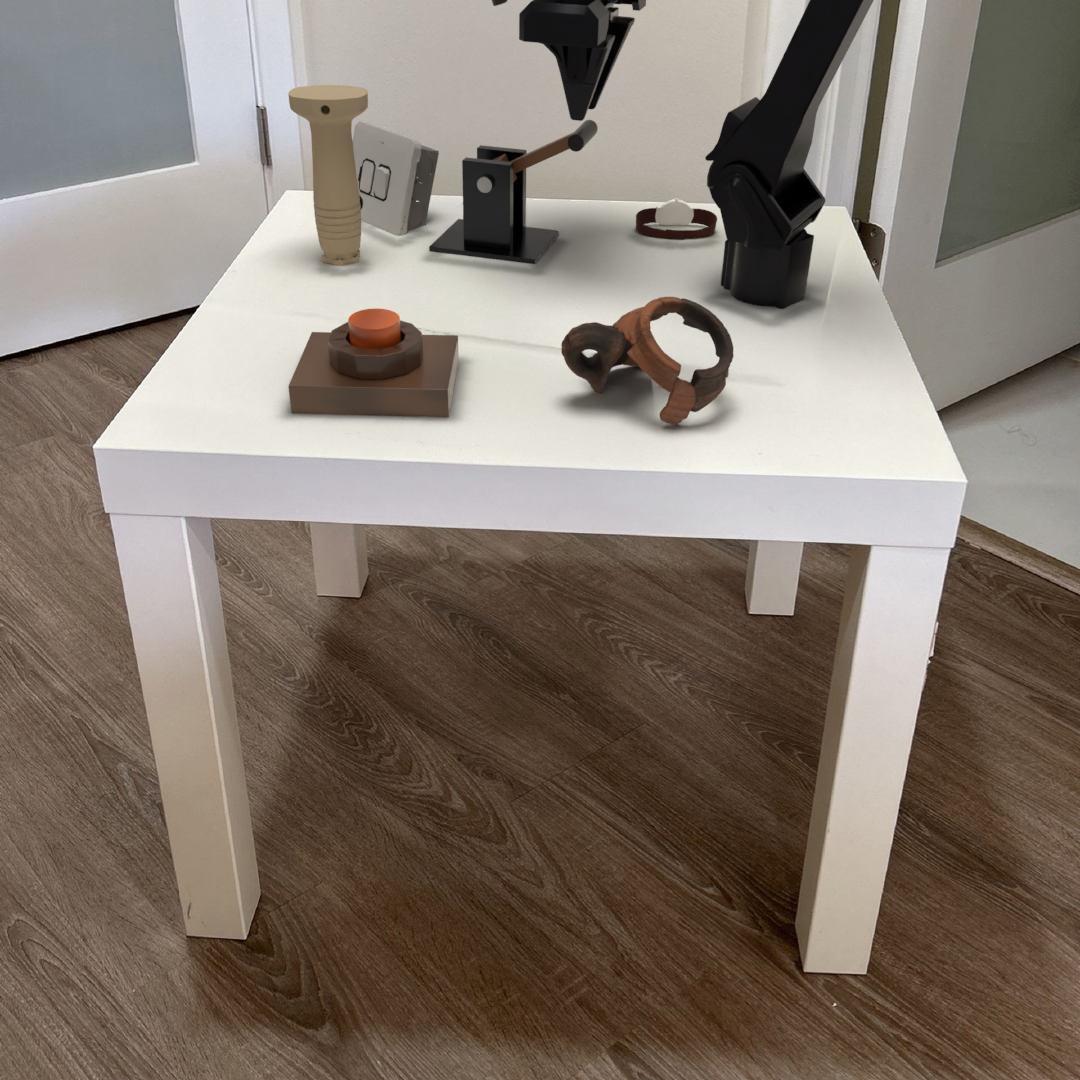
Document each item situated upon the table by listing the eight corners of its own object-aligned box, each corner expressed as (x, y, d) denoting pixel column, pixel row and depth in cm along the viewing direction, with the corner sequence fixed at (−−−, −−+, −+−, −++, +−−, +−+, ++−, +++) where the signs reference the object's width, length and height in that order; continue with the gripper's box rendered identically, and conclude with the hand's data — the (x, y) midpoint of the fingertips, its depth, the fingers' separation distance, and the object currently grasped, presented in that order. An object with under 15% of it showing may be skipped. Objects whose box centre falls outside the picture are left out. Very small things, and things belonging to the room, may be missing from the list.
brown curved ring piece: (675, 362, 91) (728, 291, 85) (701, 463, 87) (759, 397, 80) (533, 342, 87) (577, 265, 80) (552, 448, 82) (601, 376, 76)
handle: (375, 277, 104) (364, 100, 95) (302, 276, 103) (284, 99, 95) (380, 257, 108) (370, 85, 99) (309, 256, 107) (293, 84, 99)
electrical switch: (339, 219, 116) (340, 121, 111) (382, 213, 119) (384, 117, 114) (397, 245, 110) (400, 143, 106) (440, 238, 114) (445, 138, 109)
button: (403, 331, 86) (402, 308, 85) (397, 352, 83) (396, 329, 82) (354, 330, 86) (352, 307, 85) (346, 351, 83) (344, 328, 82)
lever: (602, 137, 104) (591, 111, 103) (588, 153, 100) (576, 126, 99) (496, 185, 109) (484, 161, 108) (479, 201, 105) (466, 176, 104)
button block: (458, 362, 90) (457, 312, 88) (448, 418, 82) (447, 365, 80) (314, 358, 90) (309, 309, 88) (291, 414, 82) (285, 361, 80)
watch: (711, 231, 115) (715, 194, 113) (718, 248, 111) (722, 210, 109) (632, 230, 115) (634, 193, 113) (636, 247, 111) (639, 209, 109)
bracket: (558, 242, 112) (561, 148, 107) (534, 272, 105) (536, 173, 100) (458, 230, 114) (456, 137, 109) (429, 259, 107) (425, 161, 102)
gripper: (526, -110, 101) (524, 81, 110) (452, -85, 86) (457, 133, 95) (653, -103, 98) (641, 92, 107) (601, -77, 84) (591, 147, 92)
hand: (583, 114), depth 100 cm, fingers open, 4 cm apart
